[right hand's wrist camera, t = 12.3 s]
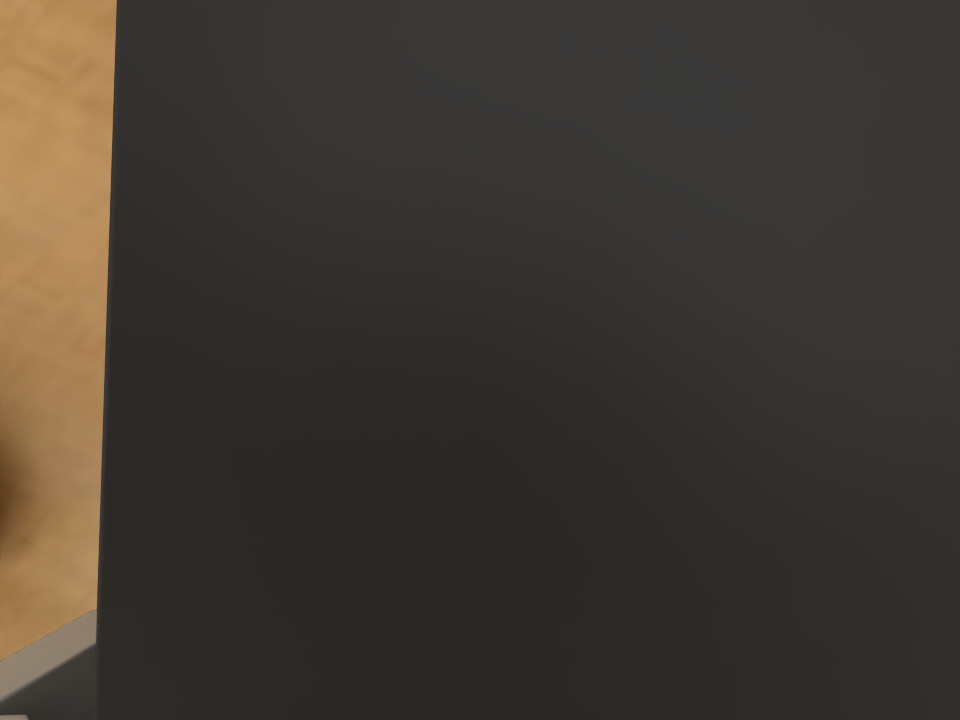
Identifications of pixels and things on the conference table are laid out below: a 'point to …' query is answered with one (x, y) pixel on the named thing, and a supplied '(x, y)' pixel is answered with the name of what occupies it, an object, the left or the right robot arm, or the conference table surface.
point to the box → (532, 361)
